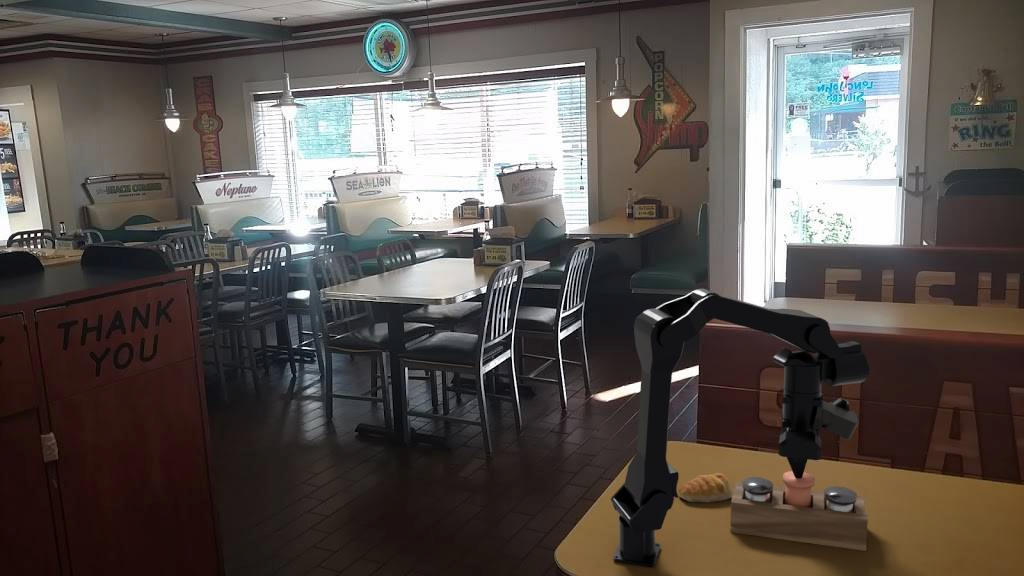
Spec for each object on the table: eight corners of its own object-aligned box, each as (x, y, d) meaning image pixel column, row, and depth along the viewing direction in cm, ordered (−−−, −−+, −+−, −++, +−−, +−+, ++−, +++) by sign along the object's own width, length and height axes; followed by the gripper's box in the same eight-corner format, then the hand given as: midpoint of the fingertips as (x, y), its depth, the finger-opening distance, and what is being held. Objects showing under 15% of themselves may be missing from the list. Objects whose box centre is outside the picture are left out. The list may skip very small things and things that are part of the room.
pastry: (689, 508, 143) (689, 489, 142) (671, 493, 149) (671, 474, 148) (735, 500, 146) (735, 480, 145) (715, 485, 152) (715, 466, 151)
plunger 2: (855, 535, 129) (857, 502, 128) (822, 530, 130) (824, 497, 129) (854, 520, 133) (856, 488, 132) (822, 516, 135) (823, 484, 134)
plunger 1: (771, 523, 133) (772, 491, 132) (740, 519, 135) (741, 488, 134) (772, 510, 138) (773, 479, 137) (742, 506, 140) (743, 475, 138)
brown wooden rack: (866, 550, 127) (867, 521, 126) (730, 531, 134) (730, 503, 133) (862, 524, 135) (864, 495, 134) (734, 507, 142) (735, 480, 141)
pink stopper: (813, 518, 131) (814, 485, 129) (781, 514, 132) (782, 481, 131) (813, 504, 135) (814, 472, 134) (782, 500, 137) (783, 469, 136)
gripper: (859, 412, 118) (853, 509, 121) (853, 374, 135) (848, 460, 138) (780, 406, 122) (776, 499, 125) (784, 369, 139) (780, 453, 142)
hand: (798, 477), depth 133 cm, fingers closed, pressing on pink stopper
